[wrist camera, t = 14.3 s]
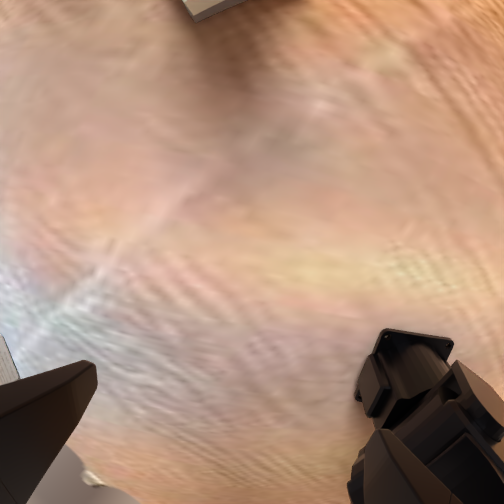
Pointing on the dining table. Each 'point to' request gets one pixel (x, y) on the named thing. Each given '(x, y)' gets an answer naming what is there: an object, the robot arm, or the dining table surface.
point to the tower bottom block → (213, 9)
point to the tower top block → (200, 5)
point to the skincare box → (6, 364)
